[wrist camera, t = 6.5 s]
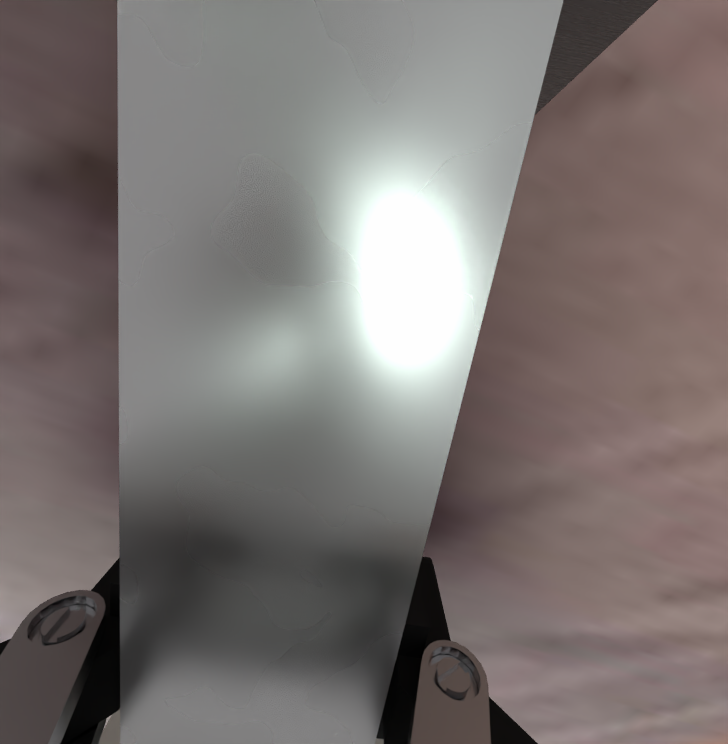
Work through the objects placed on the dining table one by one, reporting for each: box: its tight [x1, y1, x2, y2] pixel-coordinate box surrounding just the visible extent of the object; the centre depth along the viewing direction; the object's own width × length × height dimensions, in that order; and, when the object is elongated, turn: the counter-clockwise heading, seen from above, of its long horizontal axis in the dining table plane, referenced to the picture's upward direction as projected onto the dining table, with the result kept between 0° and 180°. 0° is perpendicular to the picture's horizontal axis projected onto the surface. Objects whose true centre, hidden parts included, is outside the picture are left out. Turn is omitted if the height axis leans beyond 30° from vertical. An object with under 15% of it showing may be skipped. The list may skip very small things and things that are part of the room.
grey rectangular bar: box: [117, 0, 563, 744], centre depth 8 cm, size 23×5×5 cm, turn 170°
